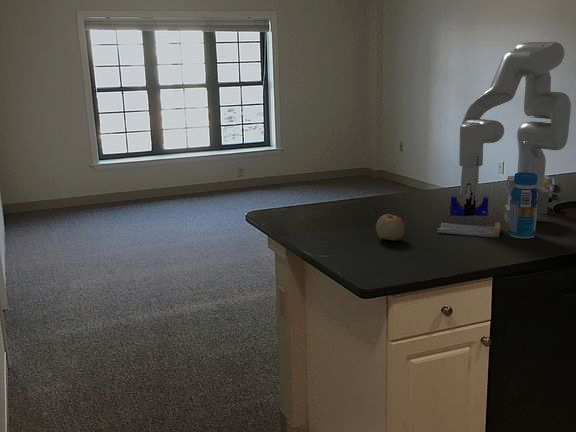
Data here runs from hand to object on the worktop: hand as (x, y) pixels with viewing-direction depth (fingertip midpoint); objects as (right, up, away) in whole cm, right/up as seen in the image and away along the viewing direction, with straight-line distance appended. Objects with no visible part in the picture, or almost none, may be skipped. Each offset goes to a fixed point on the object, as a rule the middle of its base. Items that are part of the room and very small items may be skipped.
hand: (469, 212), depth 216 cm
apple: (-29, -9, -15) cm, 34 cm away
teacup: (+45, +11, +54) cm, 71 cm away
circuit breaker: (+21, -3, +4) cm, 21 cm away
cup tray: (+44, +11, +55) cm, 71 cm away
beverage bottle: (+13, -8, -13) cm, 20 cm away
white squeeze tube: (-3, -6, -8) cm, 11 cm away
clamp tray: (+36, +8, +41) cm, 55 cm away
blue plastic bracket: (0, -1, 0) cm, 1 cm away
